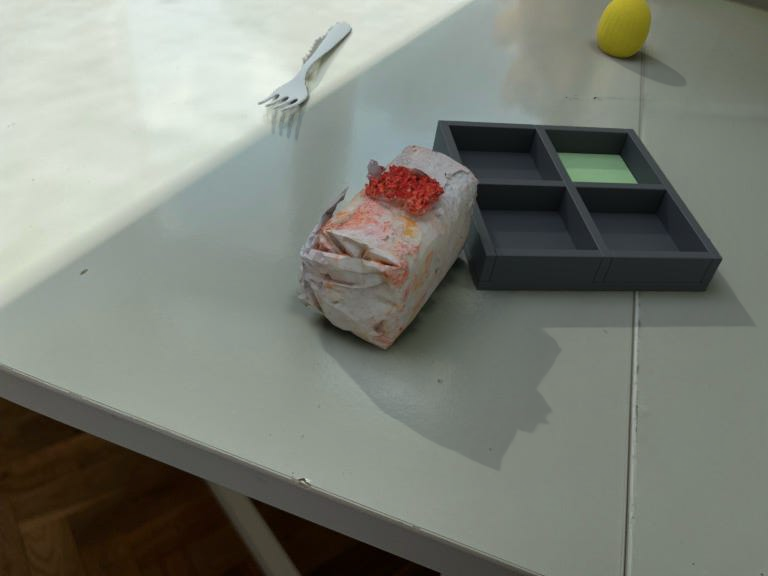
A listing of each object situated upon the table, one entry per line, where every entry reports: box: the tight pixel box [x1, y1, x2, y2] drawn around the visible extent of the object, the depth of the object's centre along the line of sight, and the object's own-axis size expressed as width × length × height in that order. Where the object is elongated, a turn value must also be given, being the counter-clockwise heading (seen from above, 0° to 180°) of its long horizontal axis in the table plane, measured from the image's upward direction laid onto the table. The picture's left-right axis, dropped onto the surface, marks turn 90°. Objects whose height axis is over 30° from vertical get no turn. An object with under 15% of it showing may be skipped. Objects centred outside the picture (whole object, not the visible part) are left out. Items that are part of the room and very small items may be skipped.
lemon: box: [596, 0, 652, 59], centre depth 88 cm, size 6×6×8 cm
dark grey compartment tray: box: [431, 119, 723, 292], centre depth 64 cm, size 18×18×3 cm
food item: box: [297, 144, 479, 350], centre depth 53 cm, size 14×8×10 cm, turn 153°
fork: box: [257, 22, 352, 112], centre depth 79 cm, size 3×24×2 cm, turn 165°
